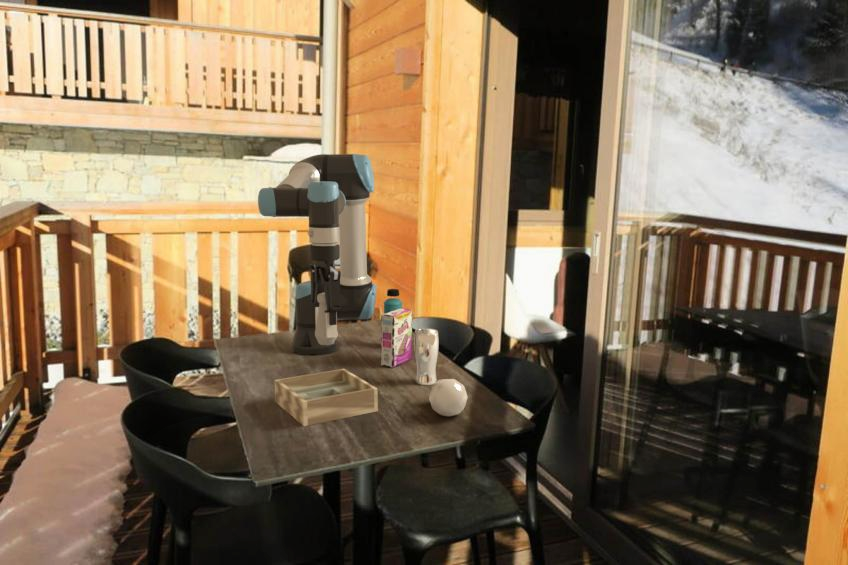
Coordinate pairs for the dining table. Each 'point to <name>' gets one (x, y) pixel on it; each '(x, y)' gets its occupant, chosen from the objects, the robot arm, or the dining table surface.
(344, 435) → the dining table surface
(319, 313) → the salt shaker
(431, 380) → the beer glass
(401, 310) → the candy bar box
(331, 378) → the insert box
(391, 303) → the beverage bottle
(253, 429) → the dining table surface
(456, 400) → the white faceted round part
